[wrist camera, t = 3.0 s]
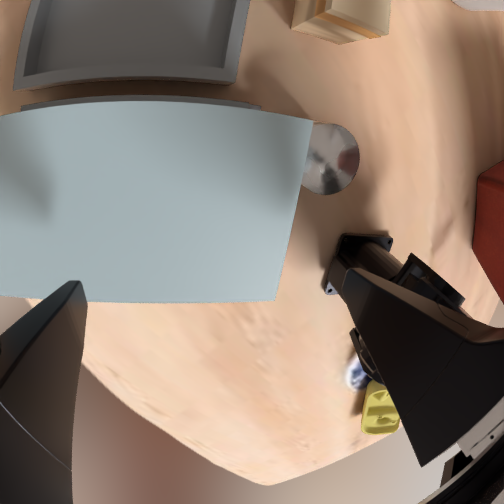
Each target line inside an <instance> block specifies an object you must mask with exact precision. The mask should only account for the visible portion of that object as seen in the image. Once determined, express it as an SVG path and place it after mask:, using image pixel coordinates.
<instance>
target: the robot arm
mask: <svg viewBox="0 0 504 504" xmlns="http://www.w3.org/2000/svg"><path fill="white" fill-rule="evenodd" d="M345 238H346V240H345V241H344V239H345ZM392 243H393V238H391V237H390V236H383V235H368V234H351V233H344V234H342V235H341V237H340V239H339V242H338V246H337V249H336V252H335V256H334V258H333V261H332V264H331V268H330V271H329V274H328V277H327V281H326V284H325V287H324V292H325V293H326V294H327V295H333V294H339V295H340V297H341V298H342V299H343V300H344V302H345V303H346V304H347V307H348V309H349V312H350V314H351V316H352V319H353V321H354V324H355V326H356V327H355V328H353V329H352V330H351V331H350V333H349V334H350V336H351V339H352V342H353V344H354V347H355V349H356V352H357V355H358V357H359V360H360V363H361V365H362V368H363V370H364V372H366V373H367V374H368V376H369V377H370V378H372V379H373V380H375V381H376V382H378V383H379V384H381V385H383V386H385V387H386V389H387V391H388V393H389V395H390V397H391V399H392V401H393V404H394V406H395V408H396V410H397V412H398V415H399V417H400V419H401V420H402V421H401V422H402V424H403V426H404V428H405V431H406V433H407V435H408V438H409V440H410V442H411V445H412V447H413V449H414V452H415V454H416V457H417V459H418V462H419V464H420V466H421V467H423V466H425V465H427V464H428V463H429V462H431V461H432V460H434V459H435V458H437V457H438V456H440V455H441V454H442V453H444V452H445V451H446V450H448V449H449V448H451V447H452V446H453V445H455V444H456V443H458V445H459V447H460V448H461V451H459V452H458V453H457V454H456V455H455V456H453V457H452V458H451V459H449V460H448V461H447V462H445V466H444V471H443V476H442V480H441V485H440V488H439V489H438V490H437V491H435V492H434V493H432V494H431V495H429V496H428V497H427V498H425V499H424V500H423V501H421V502H419V503H418V504H504V328H495V327H491V326H488V325H486V324H484V323H481V322H479V321H476V320H474V319H473V318H472V317H471V316H470V315H469V314H468V313H467V312H466V311H465V310H464V309H462V308H461V307H460V306H461V305H462V303H463V302H464V300H465V298H464V297H463V296H462V295H461V294H460V293H458V292H457V291H456V290H455V289H454V288H453V287H452V286H451V285H449V284H448V283H447V282H446V281H445V280H444V279H443V278H441V277H440V276H439V275H438V274H437V273H436V272H434V271H433V270H432V269H431V268H430V267H429V266H427V265H426V264H425V263H424V262H422V261H421V260H420V259H419V258H418V257H416V256H415V255H414V254H413V253H410V255H409V256H408V260H407V261H406V262H405V264H404V265H403V264H402V263H401V262H400V261H398V260H397V259H396V258H395V257H394V256H393V255H391V254H390V253H389V252H390V249H391V246H392ZM87 308H88V305H87V300H86V296H85V292H84V288H83V285H82V282H81V281H80V280H69V281H67V282H66V283H65V284H63V285H62V286H61V287H59V288H58V289H57V290H55V291H54V292H53V293H52V294H50V295H49V296H48V297H46V298H45V299H44V300H43V301H41V302H40V303H39V304H37V305H36V306H35V307H34V308H32V309H31V310H30V311H29V312H28V313H26V314H25V315H24V316H23V317H21V318H20V319H19V320H18V321H17V322H15V323H14V324H13V325H12V326H11V327H10V328H8V329H7V330H6V331H5V332H4V333H3V334H1V335H0V504H73V499H72V471H71V470H72V437H73V423H74V411H75V401H76V393H77V386H78V379H79V372H80V366H81V360H82V355H83V348H84V337H85V326H86V317H87Z"/></svg>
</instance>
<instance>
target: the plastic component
mask: <svg viewBox="0 0 504 504" xmlns="http://www.w3.org/2000/svg"><path fill="white" fill-rule="evenodd" d="M399 422H400V417H399V415H398V412H397V410H396V408H395V406H394V404H393V401H392V399H391V397H390V395H389V393H388V391H387V389H386V387H385V386H383V385H381V384H379V383H378V382H376V381H375V380H371V381H370V382H369V384H368V385H367V390H366V395H365V400H364V405H363V409H362V420H361V430H362V432H363V433H365V434H369V435H381V434H389V433H394V432H395V431H397V429H398V427H399Z"/></svg>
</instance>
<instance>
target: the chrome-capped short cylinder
mask: <svg viewBox="0 0 504 504" xmlns="http://www.w3.org/2000/svg"><path fill="white" fill-rule="evenodd" d="M308 120H309V119H308ZM359 160H360V154H359V148H358V144H357V142H356V140H355V138H354V137H353V135H352V134H351V133H350V132H349V131H348V130H347V129H345V128H343V127H342V126H339V125H336V124H331V123H326V122H321V121H315V120H313V126H312V131H311V136H310V142H309V147H308V152H307V157H306V162H305V167H304V172H303V177H302V182H301V185H303V186H304V187H306V188H307V189H308V190H310V191H312V192H314V193H316V194H321V195H330V194H334V193H337V192H339V191H341V190H342V189H344V188H345V187H346V186H347V185H348V184H349V183H350V182H351V181H352V180H353V178H354V176H355V175H356V172H357V170H358V166H359Z"/></svg>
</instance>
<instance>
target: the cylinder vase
mask: <svg viewBox="0 0 504 504" xmlns="http://www.w3.org/2000/svg"><path fill="white" fill-rule="evenodd" d="M451 1H453V2H454V3H455V4H457V5H458V6H460V7H462V8H464V9H466V10H470V11H504V0H451Z"/></svg>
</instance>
